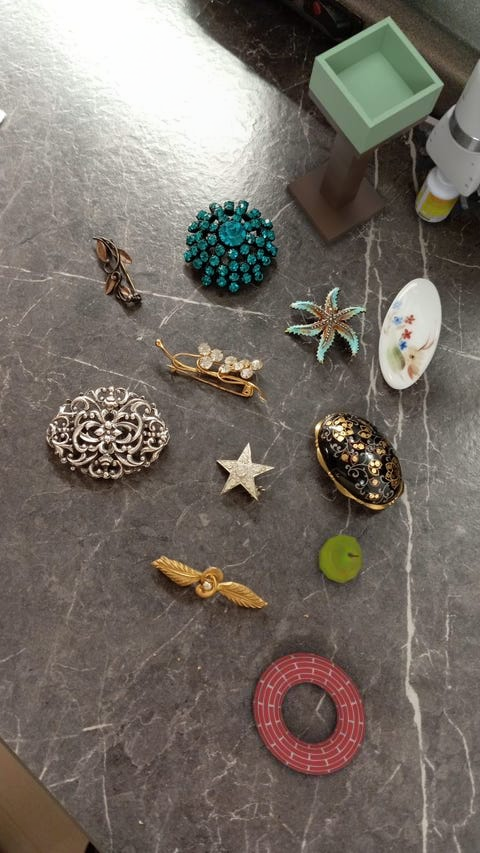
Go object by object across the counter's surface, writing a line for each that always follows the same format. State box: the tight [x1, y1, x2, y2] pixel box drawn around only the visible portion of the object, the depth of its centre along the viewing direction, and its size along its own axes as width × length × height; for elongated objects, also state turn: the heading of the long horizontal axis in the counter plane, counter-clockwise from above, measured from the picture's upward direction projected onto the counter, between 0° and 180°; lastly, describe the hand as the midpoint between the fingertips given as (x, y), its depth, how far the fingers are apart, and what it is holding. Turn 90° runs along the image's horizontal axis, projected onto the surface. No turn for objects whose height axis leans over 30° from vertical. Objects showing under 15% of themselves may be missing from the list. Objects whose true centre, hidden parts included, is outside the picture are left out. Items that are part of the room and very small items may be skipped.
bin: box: [308, 16, 445, 154], centre depth 111 cm, size 11×11×6 cm
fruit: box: [318, 533, 364, 584], centre depth 119 cm, size 6×6×12 cm
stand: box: [285, 88, 430, 246], centre depth 126 cm, size 11×11×26 cm
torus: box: [252, 652, 367, 776], centre depth 118 cm, size 16×14×4 cm
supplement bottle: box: [414, 165, 460, 223], centre depth 135 cm, size 6×6×10 cm
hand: (441, 189), depth 134 cm, fingers open, 8 cm apart
